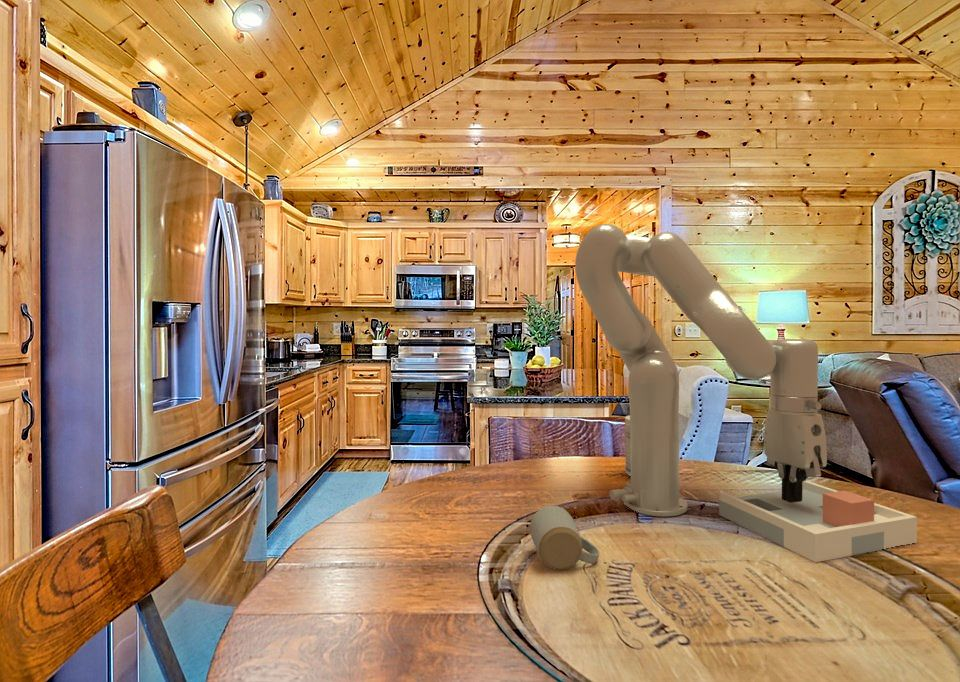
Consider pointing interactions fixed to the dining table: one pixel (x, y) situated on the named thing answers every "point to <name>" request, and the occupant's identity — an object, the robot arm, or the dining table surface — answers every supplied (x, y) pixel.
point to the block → (846, 508)
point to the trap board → (816, 524)
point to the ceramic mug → (559, 539)
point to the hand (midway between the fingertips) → (791, 500)
